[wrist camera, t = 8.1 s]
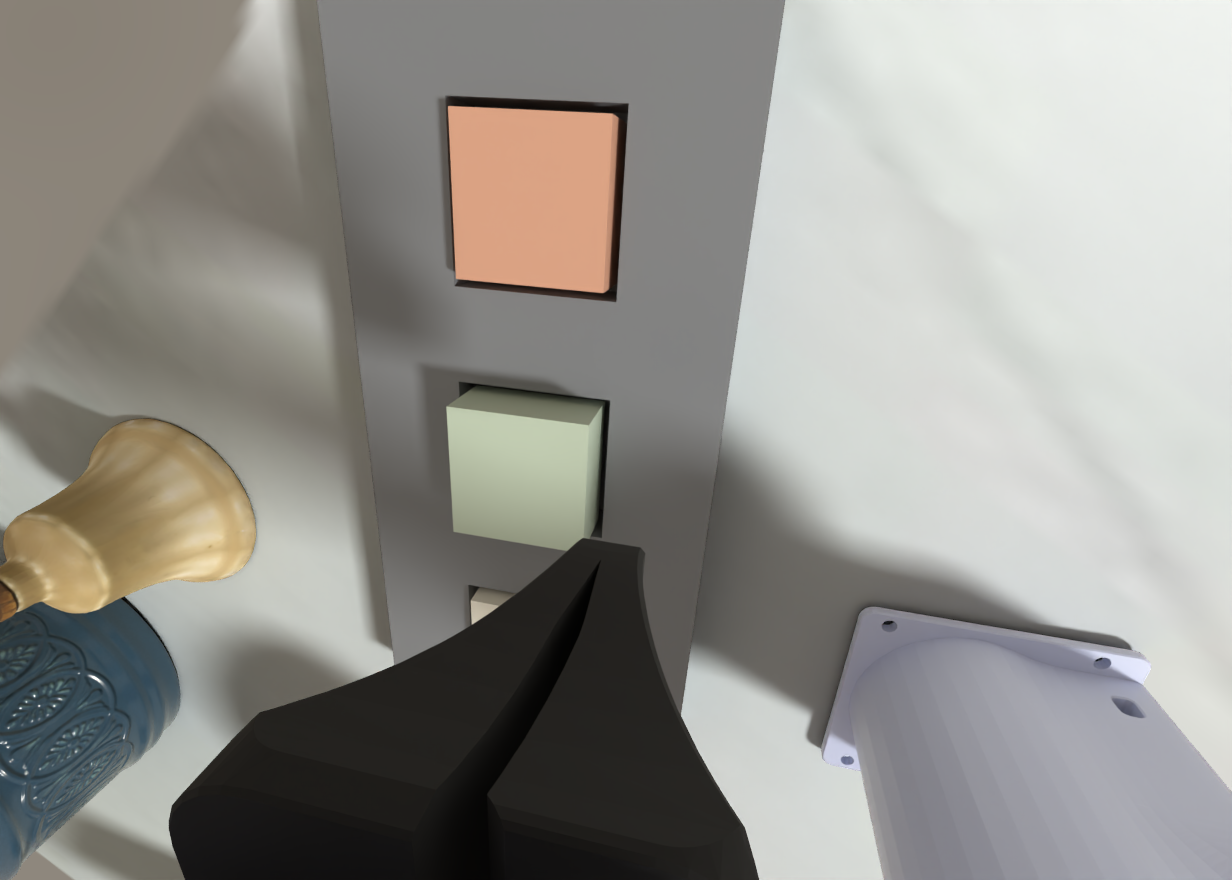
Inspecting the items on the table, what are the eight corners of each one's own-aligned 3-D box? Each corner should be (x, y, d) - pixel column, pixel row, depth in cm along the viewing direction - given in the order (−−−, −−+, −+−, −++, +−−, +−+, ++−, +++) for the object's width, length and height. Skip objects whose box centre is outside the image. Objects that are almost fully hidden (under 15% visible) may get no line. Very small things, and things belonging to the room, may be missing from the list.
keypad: (780, 15, 15) (787, -17, 13) (678, 721, 26) (672, 772, 23) (370, 8, 17) (314, -22, 15) (427, 669, 28) (400, 711, 25)
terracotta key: (627, 124, 16) (612, 113, 14) (618, 282, 18) (603, 293, 16) (482, 117, 17) (448, 106, 15) (486, 270, 19) (456, 279, 17)
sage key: (605, 401, 19) (588, 425, 17) (598, 518, 20) (582, 553, 18) (476, 384, 19) (446, 406, 17) (480, 500, 21) (453, 531, 19)
